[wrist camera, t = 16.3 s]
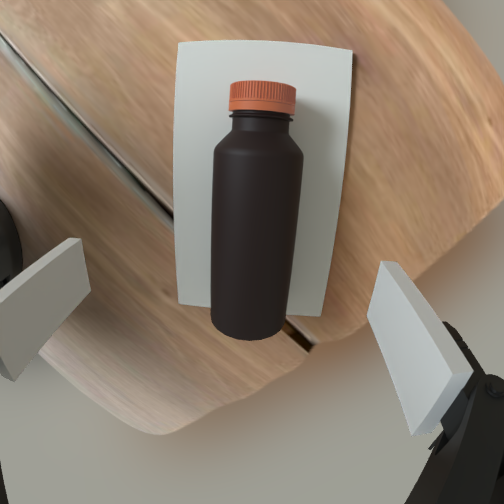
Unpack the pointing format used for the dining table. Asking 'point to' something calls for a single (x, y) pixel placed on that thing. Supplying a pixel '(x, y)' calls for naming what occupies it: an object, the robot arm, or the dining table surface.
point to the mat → (301, 131)
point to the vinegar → (254, 211)
